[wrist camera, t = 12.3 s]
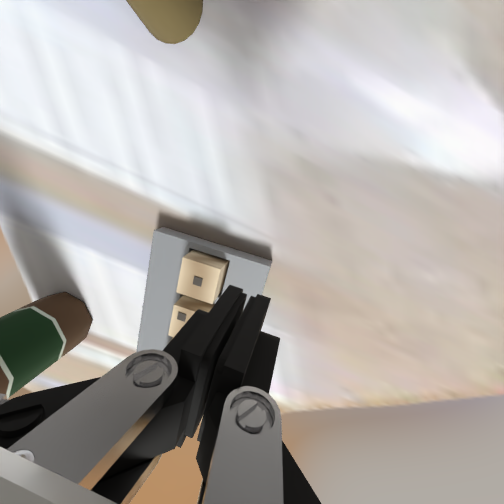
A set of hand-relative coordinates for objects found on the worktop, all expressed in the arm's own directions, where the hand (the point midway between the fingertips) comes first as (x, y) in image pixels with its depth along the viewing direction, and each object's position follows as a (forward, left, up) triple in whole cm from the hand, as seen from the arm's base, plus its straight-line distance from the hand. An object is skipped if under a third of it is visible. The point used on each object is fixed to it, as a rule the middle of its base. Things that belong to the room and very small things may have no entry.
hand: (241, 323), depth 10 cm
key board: (+6, +12, -18) cm, 23 cm away
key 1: (+6, +6, -18) cm, 20 cm away
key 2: (+6, +12, -18) cm, 22 cm away
